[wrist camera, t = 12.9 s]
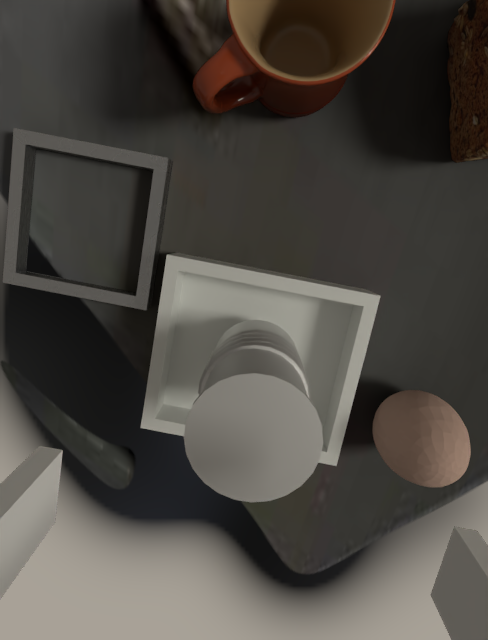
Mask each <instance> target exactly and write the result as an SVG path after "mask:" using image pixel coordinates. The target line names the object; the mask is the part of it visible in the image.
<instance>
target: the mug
mask: <svg viewBox="0 0 488 640" xmlns="http://www.w3.org/2000/svg"><path fill="white" fill-rule="evenodd" d="M395 1H396V0H226V6H227V15H228V19H229V22H230V25H231V28H232V31H233V33H232V35H231V36H230V37H229V38H228V39H227V40H226V41H225V42H224V43H223V45H222V46H221V48H220V49H219V50H218V52H217V53H216V54H215V55H213V56H212V57H211V58H210V59H209V60H208V61H207V62H205V63H204V64H203V66H202V67H201V68H200V69H199V70H198V72H197V73H196V75H195V77H194V80H193V91H194V93H195V96H196V98H197V99H198V101H199V102H200V104H201V105H202V107H203V108H204V109H205V110H206V111H208V112H209V113H212V114H220V113H224V112H227V111H229V110H232V109H234V108H236V107H239V106H242V105H246V104H249V103H252V102H254V101H256V100H259V101H260V102H261V103H262V104H263V105H264V106H265V107H266V108H267V109H268V110H270V111H271V112H273V113H276V114H278V115H281V116H285V117H303V116H307V115H310V114H312V113H314V112H316V111H318V110H320V109H321V108H323V107H324V106H326V105H327V104H328V103H329V102H330V101H331V100H332V99H333V98H334V97H335V96H336V95H337V94H338V93H339V91H340V90H341V88H342V87H343V85H344V83H345V81H346V79H347V76H348V74H349V73H350V72H352V71H353V70H355V69H356V68H357V67H359V66H360V65H361V64H362V63H363V62H364V61H365V60H366V59H367V58H368V57H369V56H370V55H371V54H372V53H373V51H374V50H375V49H376V47H377V46H378V45H379V43H380V41H381V40H382V38H383V36H384V34H385V32H386V30H387V28H388V26H389V23H390V20H391V17H392V14H393V10H394V6H395Z"/></svg>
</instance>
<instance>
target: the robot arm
mask: <svg viewBox="0 0 488 640" xmlns="http://www.w3.org/2000/svg"><path fill="white" fill-rule="evenodd" d="M62 452H63V451H62V450H59V449H53V448H48V447H43V446H39V447H38V448H37V449H36V450H35V451H34V452H33V453H32V454H31V455H30V456H29V457H28V458H27V459H26V460H25V461H24V462H23V463H22V464H21V465H20V466H19V467H18V468H16V470H14V471H13V472H12V473H11V474H10V475H9V476H8V477H7V478H6V479H5V480H4V481H3V482H2V483H1V484H0V599H1V598H2V596H3V595H4V593H5V592H6V590H7V589H8V588H9V586H10V585H11V584H12V582H13V581H14V579H15V578H16V576H17V575H18V574H19V572H20V571H21V569H22V568H23V567H24V565H25V564H26V562H27V561H28V560H29V558H30V557H31V555H32V554H33V553H34V551H35V550H36V548H37V547H38V546H39V544H40V543H41V541H42V540H43V539H44V537H45V536H46V534H47V533H48V531H49V530H50V529H51V527H52V526H53V524H54V523H55V520H56V510H57V500H58V490H59V481H60V472H61V462H62ZM431 597H432V599H433V601H434V603H435V605H436V607H437V609H438V612H439V614H440V616H441V618H442V620H443V622H444V625H445V627H446V629H447V631H448V633H449V635H450V637H451V640H488V545H487V544H486V542H485V541H484V540H483V538H482V537H481V536H480V534H479V533H478V531H475V530H470V529H465V528H460V527H454V529H453V532H452V535H451V538H450V540H449V543H448V546H447V549H446V552H445V555H444V558H443V561H442V564H441V566H440V569H439V572H438V575H437V578H436V581H435V584H434V587H433V590H432V593H431Z"/></svg>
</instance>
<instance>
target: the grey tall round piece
mask: <svg viewBox="0 0 488 640" xmlns="http://www.w3.org/2000/svg"><path fill="white" fill-rule="evenodd" d="M198 394H199V397H198V398H197V399H196V400H195V401H194V403H193V406H192V408H191V410H190V412H189V415H188V417H187V419H186V424H185V432H184V442H185V449H186V454H187V456H188V459H189V461H190V463H191V466H192V468H193V470H194V471H195V472H196V473H197V474H198V476H199V477H200V478H201V479H202V481H203V482H204V483H205V484H207V485H208V486H209V487H211V488H212V489H213V490H215V491H216V492H218V493H220V494H222V495H225V496H227V497H229V498H232V499H234V500H240V501H247V502H262V501H271V500H274V499H277V498H280V497H283V496H286V495H287V494H289V493H291V492H292V491H294V490H295V489H297V488H299V487H300V486H301V485H302V484H303V483H304V482H305V481H306V480H307V479H308V478H309V477H310V476H311V475H312V473H313V471H314V469H315V467H316V466H317V464H318V462H319V460H320V456H321V452H322V447H323V432H322V424H321V421H320V418H319V416H318V413H317V410H316V408H315V406H314V404H313V403H312V401H311V400H310V398H311V397H310V385H309V382H308V379H307V376H306V373H305V370H304V367H303V364H302V361H301V359H300V356H299V354H298V351H297V349H296V346H295V343H294V341H293V340H292V339H291V337H290V336H289V335H288V333H287V332H286V331H284V330H283V329H282V328H281V327H279V326H278V325H275V324H273V323H271V322H268V321H262V320H249V321H244V322H241V323H238V324H236V325H234V326H233V327H231V328H230V329H228V330H227V331H226V332H225V333H224V334H223V336H222V337H221V338H220V339H219V341H218V343H217V346H216V348H215V350H214V351H212V353H211V355H210V358H209V360H208V362H207V365H206V367H205V369H204V372H203V374H202V377H201V379H200V382H199V389H198Z"/></svg>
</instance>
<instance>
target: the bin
mask: <svg viewBox="0 0 488 640" xmlns="http://www.w3.org/2000/svg"><path fill="white" fill-rule="evenodd" d="M379 300H380V295H377V294H375V293H373V292H371V291H369V290H367V289H362V288H357V287H352V286H347V285H342V284H337V283H331V282H326V281H321V280H316V279H311V278H306V277H301V276H295V275H290V274H285V273H280V272H275V271H270V270H265V269H259V268H254V267H249V266H244V265H239V264H234V263H229V262H223V261H218V260H213V259H208V258H203V257H198V256H193V255H187V254H182V253H172V254H167V256H166V263H165V270H164V276H163V283H162V290H161V296H160V303H159V309H158V316H157V323H156V329H155V336H154V343H153V349H152V356H151V363H150V369H149V376H148V382H147V389H146V396H145V403H144V409H143V416H142V423H141V428H144V429H150V430H155V431H160V432H165V433H170V434H175V435H180V436H184V432H185V424H186V419H187V417H188V415H189V412H190V410H191V408H192V406H193V403H194V401H195V400H196V399H197V398H198V397H199V394H198V389H199V382H200V379H201V377H202V374H203V372H204V369H205V367H206V365H207V362H208V360H209V358H210V355H211V353H212V351H214V350H215V348H216V346H217V343H218V341H219V339H220V338H221V337H222V336H223V334H224V333H225V332H226V331H227V330H228V329H230V328H231V327H233V326H234V325H236V324H238V323H241V322H244V321H249V320H262V321H268V322H271V323H273V324H275V325H278V326H279V327H281V328H282V329H283V330H284V331H286V332H287V333H288V335H289V336H290V337H291V339H292V340H293V341H294V343H295V346H296V349H297V351H298V354H299V356H300V359H301V361H302V364H303V367H304V370H305V373H306V376H307V379H308V382H309V385H310V397H311V398H310V400H311V401H312V403H313V404H314V406H315V408H316V410H317V413H318V416H319V418H320V421H321V424H322V432H323V447H322V452H321V456H320V460H319V463H324V464H329V465H334V466H337V462H338V458H339V454H340V450H341V446H342V442H343V439H344V435H345V431H346V427H347V423H348V419H349V415H350V412H351V408H352V404H353V400H354V396H355V392H356V388H357V385H358V381H359V377H360V373H361V369H362V365H363V361H364V358H365V354H366V350H367V346H368V342H369V338H370V334H371V331H372V327H373V323H374V319H375V315H376V311H377V307H378V304H379Z"/></svg>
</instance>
